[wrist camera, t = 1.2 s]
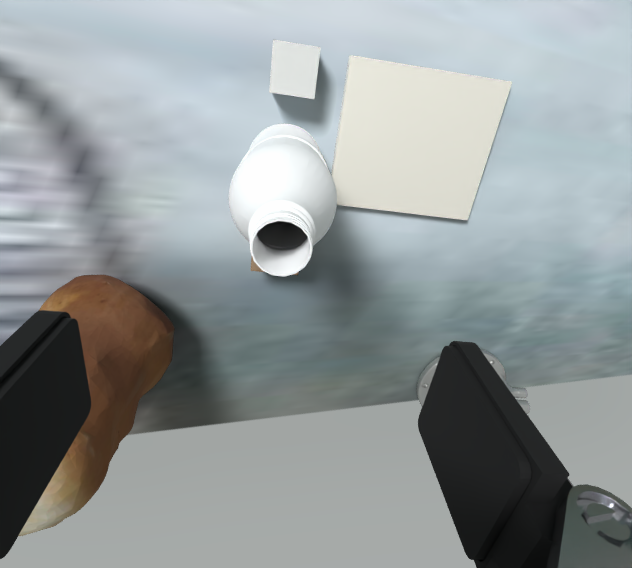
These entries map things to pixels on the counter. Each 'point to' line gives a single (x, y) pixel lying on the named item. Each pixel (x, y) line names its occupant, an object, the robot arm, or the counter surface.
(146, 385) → the butternut squash
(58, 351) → the robot arm
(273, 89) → the pale grey block
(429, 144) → the placemat
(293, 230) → the water bottle
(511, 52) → the counter surface
